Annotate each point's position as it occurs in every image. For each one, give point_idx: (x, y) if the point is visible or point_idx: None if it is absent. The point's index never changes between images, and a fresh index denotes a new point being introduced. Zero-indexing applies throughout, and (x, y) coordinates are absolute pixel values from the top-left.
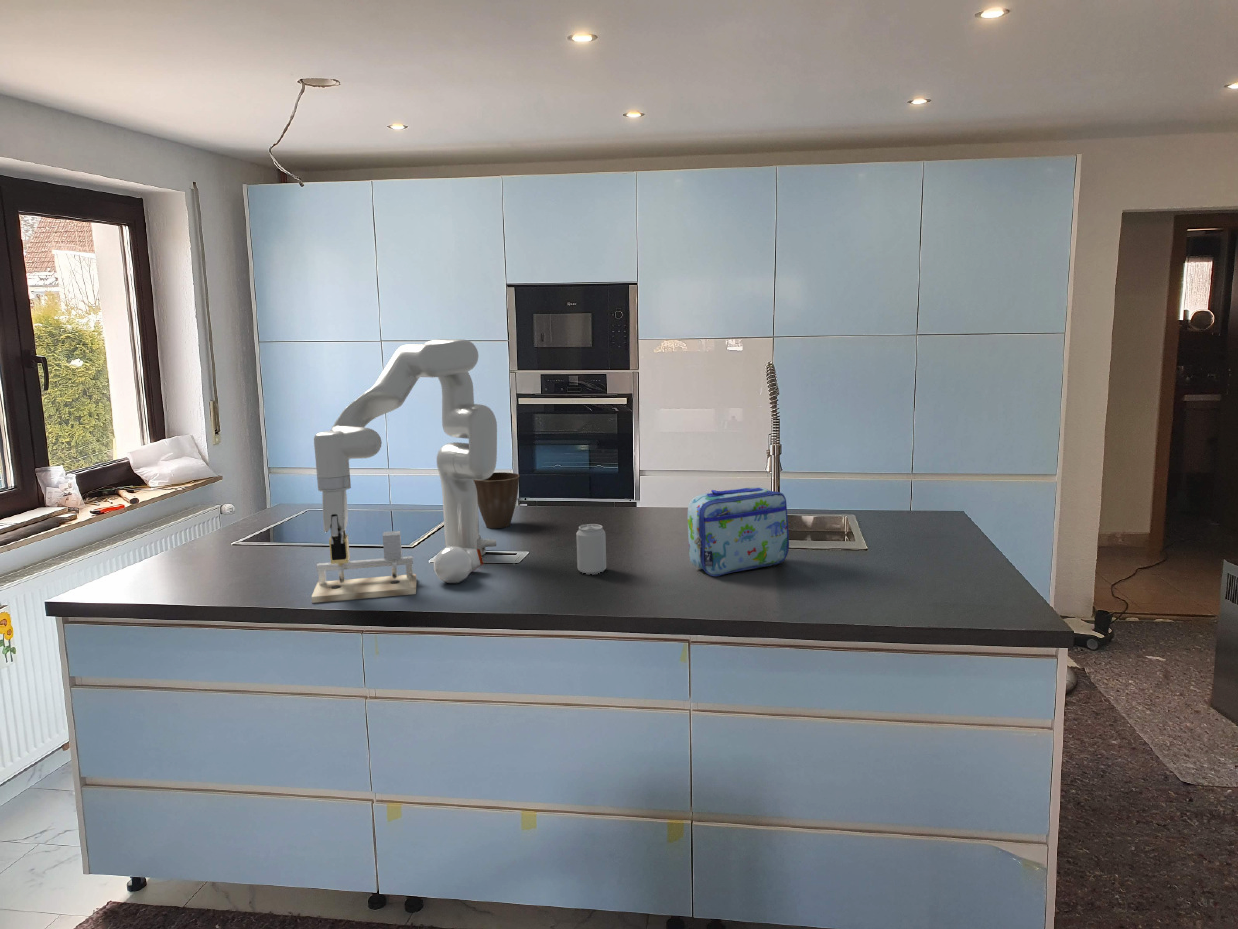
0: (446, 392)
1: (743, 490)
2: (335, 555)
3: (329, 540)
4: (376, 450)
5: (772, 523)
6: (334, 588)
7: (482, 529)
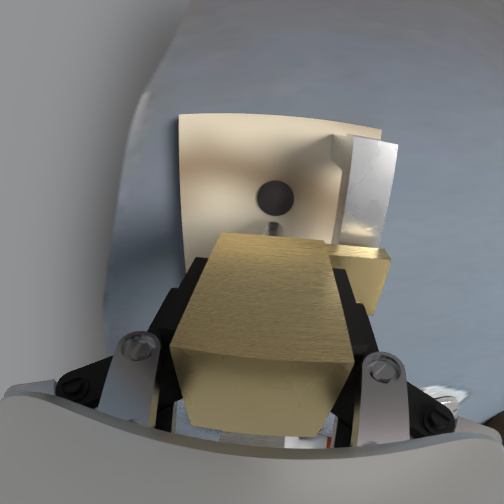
0: None
1: None
2: (171, 292)
3: (173, 344)
4: None
5: None
6: (258, 193)
7: (500, 409)
